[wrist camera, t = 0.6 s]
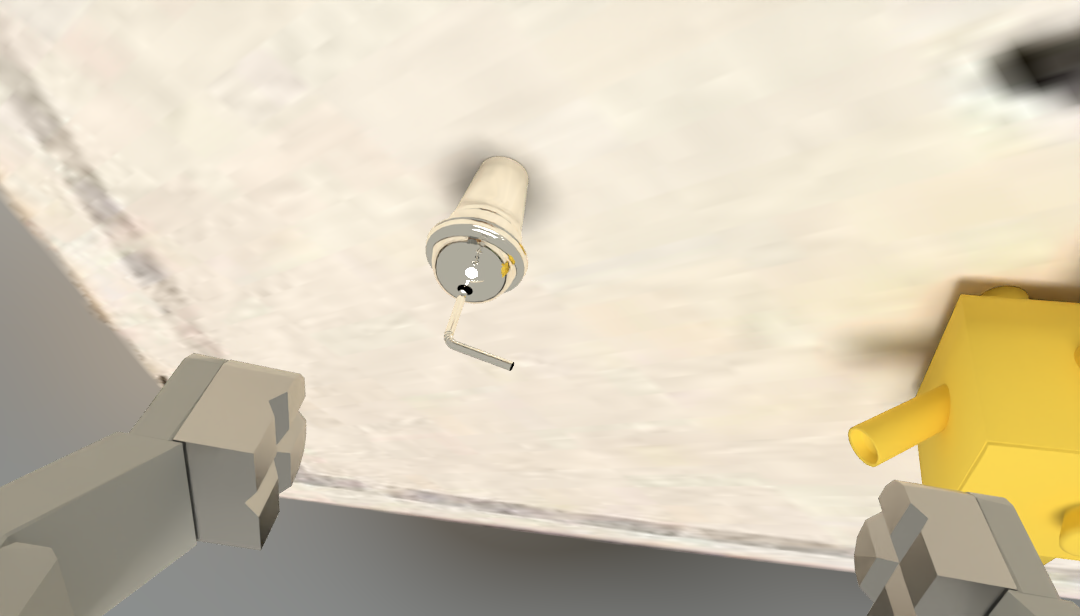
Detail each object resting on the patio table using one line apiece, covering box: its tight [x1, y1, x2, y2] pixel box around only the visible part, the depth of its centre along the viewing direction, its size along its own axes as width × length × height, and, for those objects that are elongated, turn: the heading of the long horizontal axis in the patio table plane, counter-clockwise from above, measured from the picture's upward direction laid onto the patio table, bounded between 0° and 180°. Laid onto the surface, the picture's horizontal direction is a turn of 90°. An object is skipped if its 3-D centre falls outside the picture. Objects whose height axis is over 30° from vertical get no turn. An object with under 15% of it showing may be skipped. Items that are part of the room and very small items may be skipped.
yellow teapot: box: [848, 286, 1080, 565], centre depth 67 cm, size 35×29×20 cm
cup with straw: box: [425, 156, 529, 371], centre depth 66 cm, size 8×9×20 cm
